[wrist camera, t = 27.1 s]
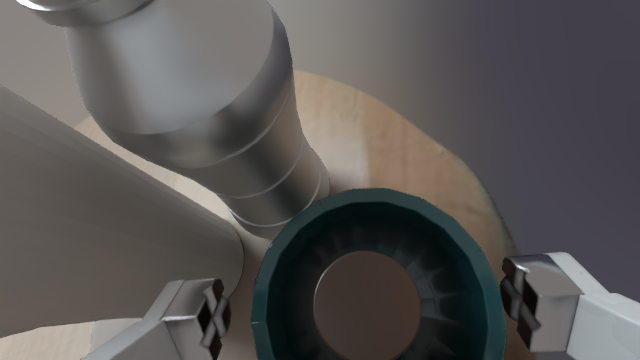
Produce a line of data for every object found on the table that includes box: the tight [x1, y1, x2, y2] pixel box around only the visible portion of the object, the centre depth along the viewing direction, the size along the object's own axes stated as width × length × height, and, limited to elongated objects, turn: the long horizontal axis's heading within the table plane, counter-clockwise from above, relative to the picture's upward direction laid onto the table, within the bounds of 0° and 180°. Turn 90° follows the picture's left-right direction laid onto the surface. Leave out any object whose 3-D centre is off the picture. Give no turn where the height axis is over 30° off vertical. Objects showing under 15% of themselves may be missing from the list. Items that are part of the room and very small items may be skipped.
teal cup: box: [251, 188, 507, 360], centre depth 16 cm, size 9×9×10 cm
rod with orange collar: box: [313, 251, 422, 360], centre depth 14 cm, size 4×4×14 cm
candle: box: [0, 85, 244, 356], centre depth 14 cm, size 7×14×20 cm, turn 145°
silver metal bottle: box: [17, 0, 330, 239], centre depth 15 cm, size 6×7×20 cm
